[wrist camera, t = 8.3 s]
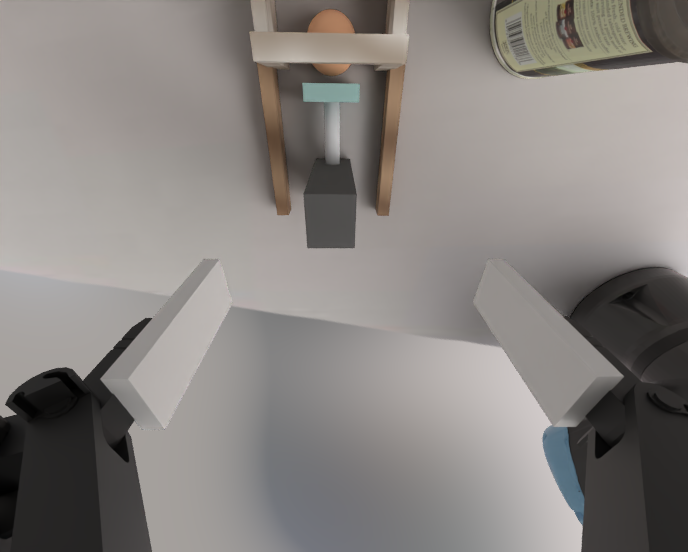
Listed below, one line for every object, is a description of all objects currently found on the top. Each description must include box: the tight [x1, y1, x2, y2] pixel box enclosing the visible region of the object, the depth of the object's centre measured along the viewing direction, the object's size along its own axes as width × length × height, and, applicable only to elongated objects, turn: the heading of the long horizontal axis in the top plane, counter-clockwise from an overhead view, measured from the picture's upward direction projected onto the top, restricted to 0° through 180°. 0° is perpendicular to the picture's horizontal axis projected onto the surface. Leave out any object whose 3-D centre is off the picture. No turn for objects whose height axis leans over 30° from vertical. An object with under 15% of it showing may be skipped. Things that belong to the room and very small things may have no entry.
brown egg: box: [307, 9, 355, 76], centre depth 21 cm, size 4×4×4 cm
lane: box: [249, 0, 410, 216], centre depth 22 cm, size 20×12×6 cm, turn 179°
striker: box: [302, 83, 360, 248], centre depth 22 cm, size 10×4×12 cm, turn 179°
